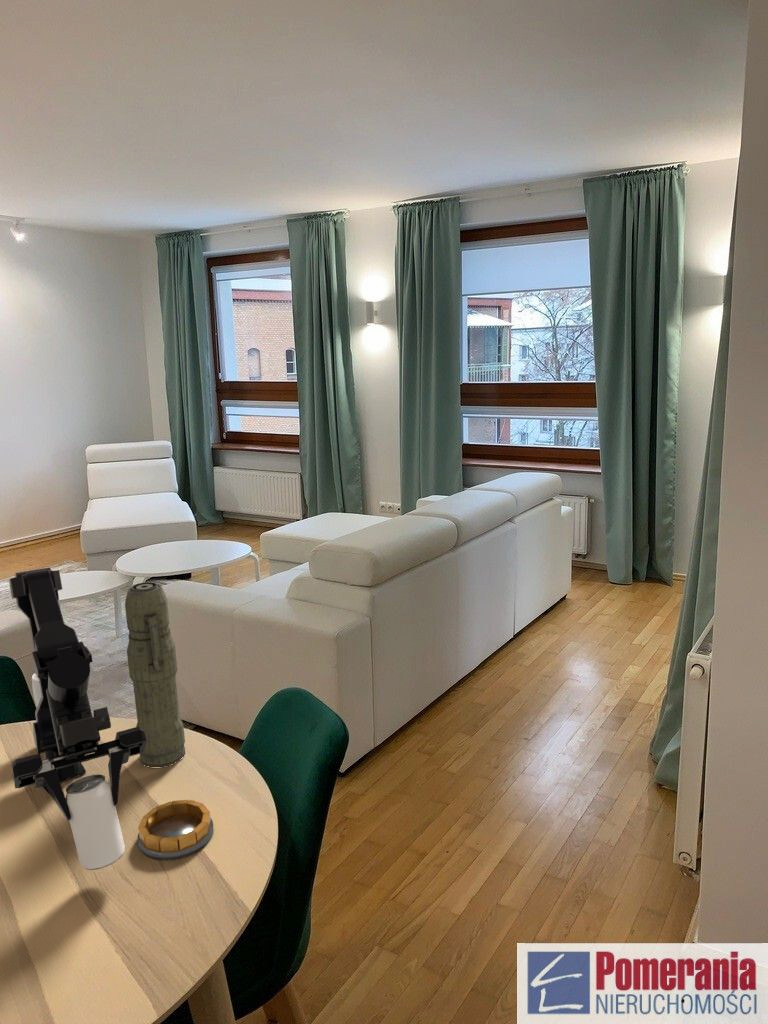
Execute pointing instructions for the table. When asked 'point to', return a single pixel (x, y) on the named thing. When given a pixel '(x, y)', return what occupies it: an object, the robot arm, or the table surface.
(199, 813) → the ring plate
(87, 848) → the can
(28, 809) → the table surface
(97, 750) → the robot arm
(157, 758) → the thermos
